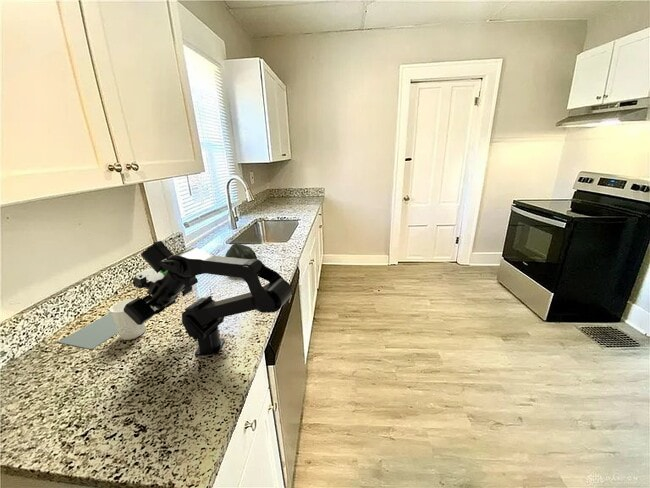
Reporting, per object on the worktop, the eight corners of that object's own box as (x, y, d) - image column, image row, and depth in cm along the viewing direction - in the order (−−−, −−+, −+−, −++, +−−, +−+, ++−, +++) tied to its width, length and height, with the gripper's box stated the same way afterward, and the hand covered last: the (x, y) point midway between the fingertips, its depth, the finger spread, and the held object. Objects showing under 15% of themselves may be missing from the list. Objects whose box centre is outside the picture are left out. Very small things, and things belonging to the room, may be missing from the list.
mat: (145, 317, 97) (145, 315, 97) (92, 351, 80) (91, 349, 80) (115, 312, 101) (114, 310, 100) (58, 344, 84) (57, 341, 84)
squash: (259, 252, 140) (236, 233, 133) (265, 263, 127) (239, 243, 120) (240, 272, 140) (215, 255, 132) (243, 286, 127) (216, 267, 119)
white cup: (153, 325, 91) (146, 298, 88) (138, 340, 84) (130, 311, 80) (128, 326, 91) (120, 299, 88) (111, 342, 83) (102, 312, 80)
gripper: (177, 250, 84) (156, 280, 91) (119, 276, 67) (97, 310, 74) (203, 276, 85) (180, 304, 91) (152, 308, 68) (128, 340, 74)
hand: (149, 313), depth 82 cm, fingers closed
